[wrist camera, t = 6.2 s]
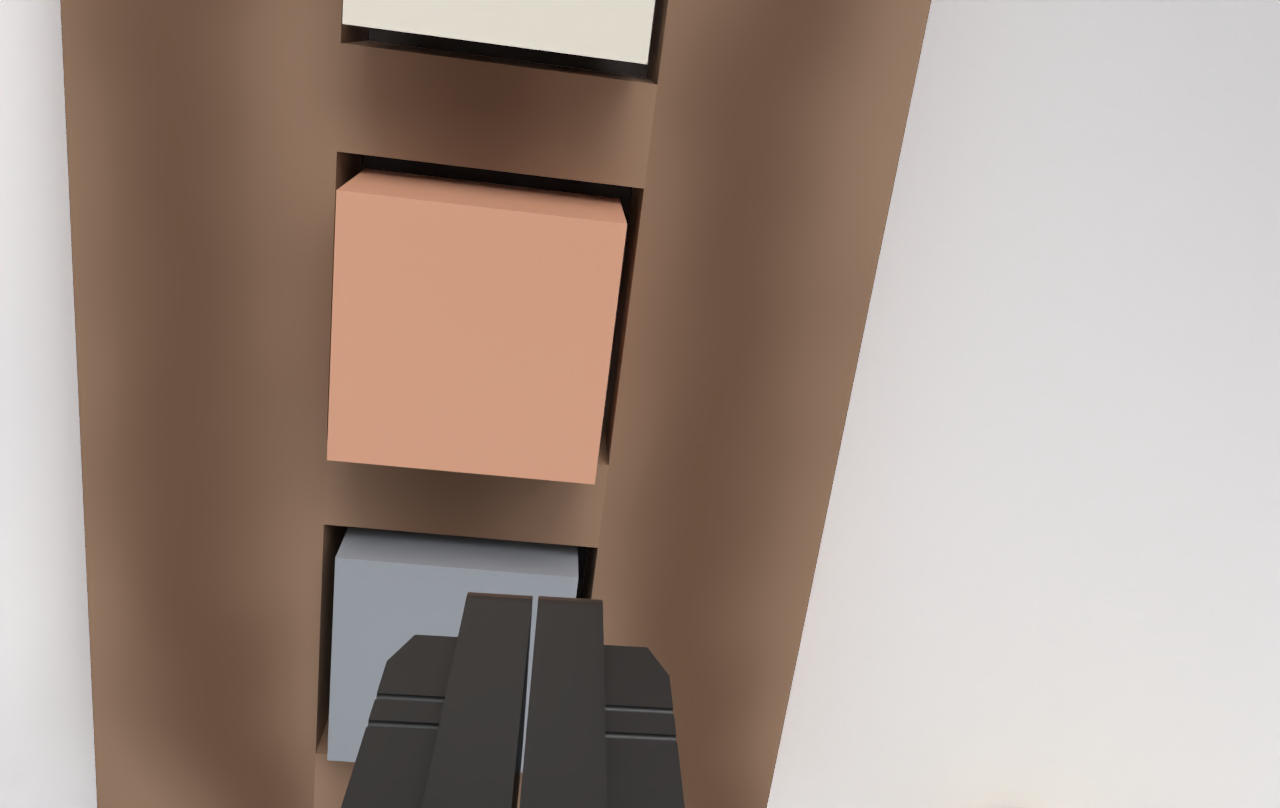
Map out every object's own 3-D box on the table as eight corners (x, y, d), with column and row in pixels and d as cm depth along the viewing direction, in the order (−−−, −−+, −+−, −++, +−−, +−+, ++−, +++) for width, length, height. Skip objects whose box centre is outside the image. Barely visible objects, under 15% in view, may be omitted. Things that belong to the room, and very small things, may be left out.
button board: (957, -364, 21) (1018, -424, 18) (734, 798, 30) (751, 878, 27) (109, -518, 19) (32, -609, 17) (145, 762, 29) (99, 844, 26)
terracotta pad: (619, 198, 22) (626, 224, 20) (591, 429, 24) (594, 484, 21) (366, 168, 22) (336, 189, 19) (355, 407, 24) (326, 459, 21)
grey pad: (576, 517, 26) (578, 577, 23) (555, 698, 28) (553, 774, 25) (360, 498, 26) (335, 557, 23) (352, 684, 27) (327, 760, 24)
